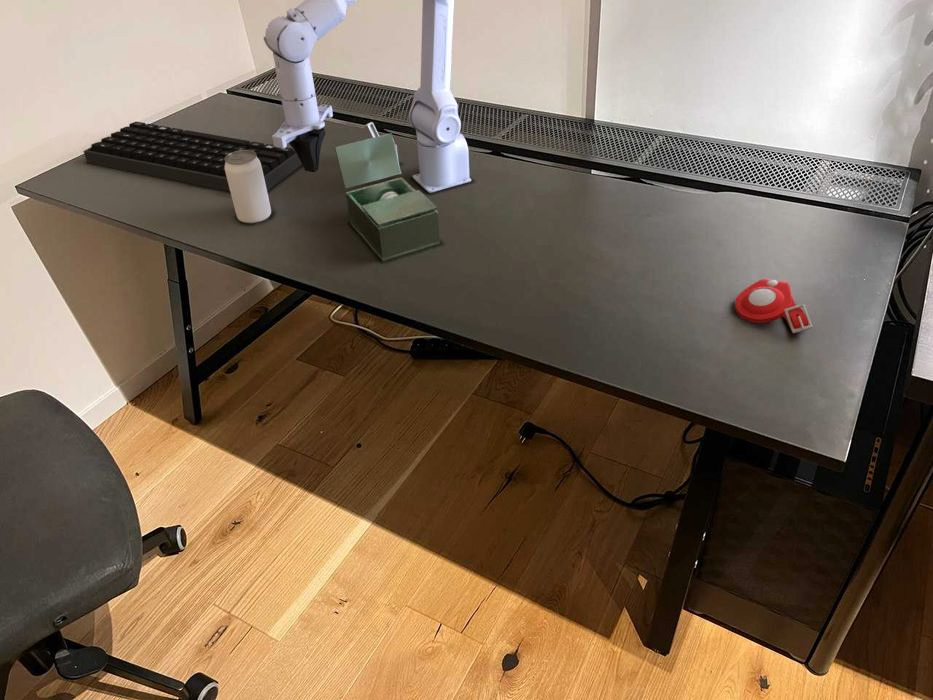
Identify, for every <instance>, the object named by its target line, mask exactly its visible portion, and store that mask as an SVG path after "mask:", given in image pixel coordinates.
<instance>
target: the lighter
mask: <svg viewBox="0 0 933 700" xmlns="http://www.w3.org/2000/svg"><path fill="white" fill-rule="evenodd" d="M363 129H364V131H365V134H366V136H367V139H370V138H374V137H378V136H380V135H379V133H378V130H377V128H376V125H375V124H374V122H373V121H370V122H368V123H366V124H364V125H363ZM394 145H395V149H396V153H397V158H398V159H399V154H398V145H397V143H394Z"/></svg>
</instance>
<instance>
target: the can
mask: <svg viewBox="0 0 933 700" xmlns="http://www.w3.org/2000/svg"><path fill="white" fill-rule="evenodd" d="M225 161H226V162H225V172H226V176H227V180H228V184H229V188H230V191H229V192H230V196H231V200H232V203H233V208H234V211H235V214H236V219H237V220H239V221H240V222H241V223H244V224H257V223H261V222H264V221H266V220H268V219H269V218H270V216H271V214H272V207H271V203H270V199H269V194H268V193H269V192H268V191H267V189H266V184H265V180H264V175H263V171H262V166H261V162H260V160H259V159H258V158H257V155H256V153H255V152H253V151H250V150H240V151H235V152H232V153H230V154H228V155H227V156H226V157H225Z"/></svg>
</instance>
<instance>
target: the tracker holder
mask: <svg viewBox="0 0 933 700" xmlns="http://www.w3.org/2000/svg"><path fill="white" fill-rule="evenodd" d="M734 304H735V305H734V308H735V311H736V314H737V315H738V316H739V317H740V318H741V319H743V320H745V321H747V322H750V323H754V324H755V323H756V324H765V323H770V322H774V321H776V320H780V318H784V319H785V321H786V323H787V325H788V327H789V328H790V331H791V333H792V334H797V333H800V332H804V331H807V330H809V329H810V330H811V329H813V327H814V326H813V323H812V321H811V318H810V316H809V313H808V311H807V308H806V305H805V303H800V304H798V305H796V302H795V300H794V297H793V296H792V291H791V286H790V284H789V282H788V281H782V280H776V279H769V278H762V279H759V280H757V281H755V282H754V283H752V284H750V285H748V286H747V287H746V288H744V289H743V290H742V291H741V292H739V294H737V297H736V298H735V302H734Z"/></svg>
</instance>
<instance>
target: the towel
mask: <svg viewBox="0 0 933 700" xmlns="http://www.w3.org/2000/svg"><path fill="white" fill-rule="evenodd" d="M398 195H399V194H397V193H395V192H387V193H385V194H384V195H383V196H382V197H381V198H380V201H381V200H384V199H388V198H391V197H395V196H398ZM412 217H413V216H412ZM412 217H408V218H405V219H409V218H412ZM405 219H402V220H405ZM402 220H398V221H402ZM398 221H395V222H398ZM395 222H392V223H395Z"/></svg>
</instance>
